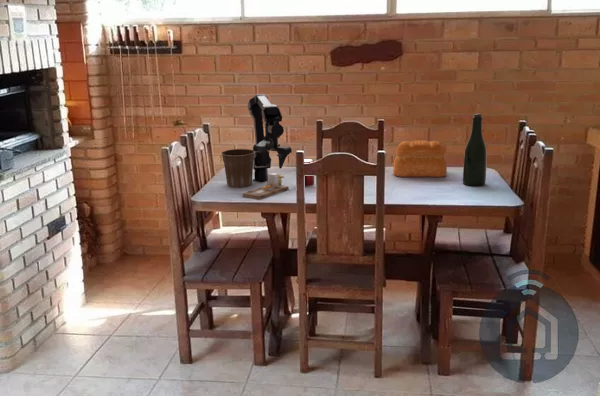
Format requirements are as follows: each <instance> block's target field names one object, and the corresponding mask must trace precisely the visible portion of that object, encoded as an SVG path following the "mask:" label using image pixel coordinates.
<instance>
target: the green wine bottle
mask: <svg viewBox="0 0 600 396" xmlns="http://www.w3.org/2000/svg"><path fill="white" fill-rule="evenodd" d="M471 120H472V123H471V132H470V135H469V139H468V141H467V143H466V146H465V149H464V155H463V168H462V169H463V170H462V184H463V185H465V186H470V187H481V186H485V185H486V182H487V163H488V162H487V159H488V157H487V155H488V153H487V151H488V150H487V145H486V141H485V140H484V136H483V116H482V113H474V114H473V116H472V119H471Z"/></svg>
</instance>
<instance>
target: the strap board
mask: <svg viewBox="0 0 600 396" xmlns="http://www.w3.org/2000/svg"><path fill="white" fill-rule="evenodd" d="M265 186H268V184H267V185H264V186H261V187H258V188H253V189H251V190H248V191H245V192H242V197H244V198H249V199H255V200H262V199H266V198H268V197H271V196H273V195H277V194H280V193H282V192H285V191H288V190H290V189H289V187H290V186H289V185H282V184H281V186H279V187H276V188H273V187H270V188H267V189H263V187H265Z"/></svg>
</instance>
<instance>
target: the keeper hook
mask: <svg viewBox="0 0 600 396" xmlns="http://www.w3.org/2000/svg"><path fill="white" fill-rule="evenodd" d="M278 178H279V186H281V185H282V179H284V178H285V176H284V175H282V174H278Z"/></svg>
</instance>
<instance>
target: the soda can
mask: <svg viewBox="0 0 600 396" xmlns="http://www.w3.org/2000/svg"><path fill="white" fill-rule="evenodd" d="M310 162H314V159H310V158H304V163H310ZM314 163H315V162H314ZM314 185H315V175H314V176H305V188H307V187H313V186H314Z"/></svg>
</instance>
